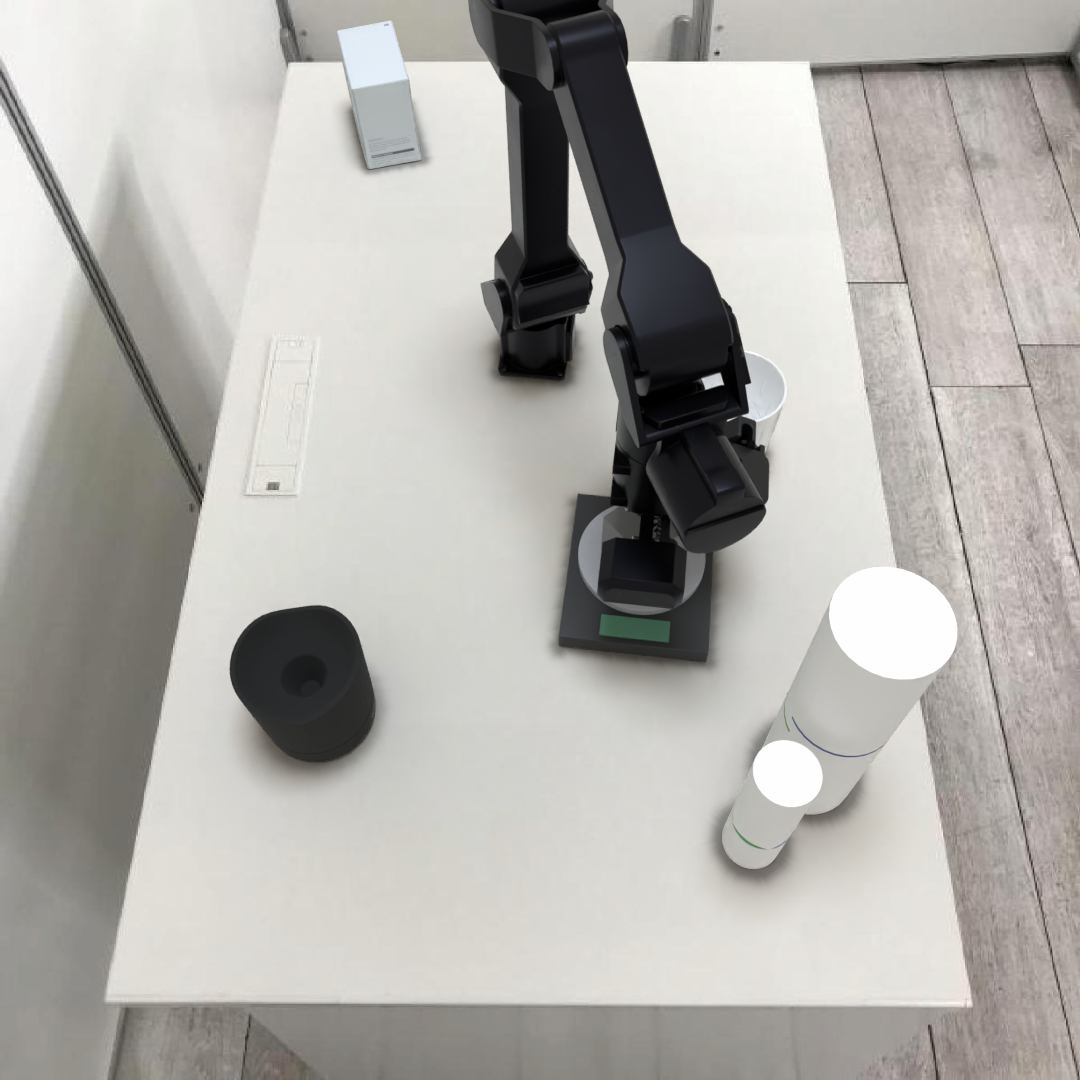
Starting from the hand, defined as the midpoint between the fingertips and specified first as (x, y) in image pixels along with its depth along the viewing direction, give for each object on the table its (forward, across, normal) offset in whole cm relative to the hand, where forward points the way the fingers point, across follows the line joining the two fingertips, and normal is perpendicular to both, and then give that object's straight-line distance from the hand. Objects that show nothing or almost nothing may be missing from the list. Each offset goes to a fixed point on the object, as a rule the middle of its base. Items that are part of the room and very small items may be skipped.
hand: (642, 546), depth 88 cm
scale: (+4, -1, 0) cm, 4 cm away
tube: (+4, -22, -10) cm, 25 cm away
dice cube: (+1, 0, 0) cm, 1 cm away
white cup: (+4, +13, -7) cm, 15 cm away
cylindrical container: (+4, -16, -14) cm, 22 cm away
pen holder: (+4, -16, +24) cm, 29 cm away
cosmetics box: (+4, +53, +33) cm, 62 cm away
